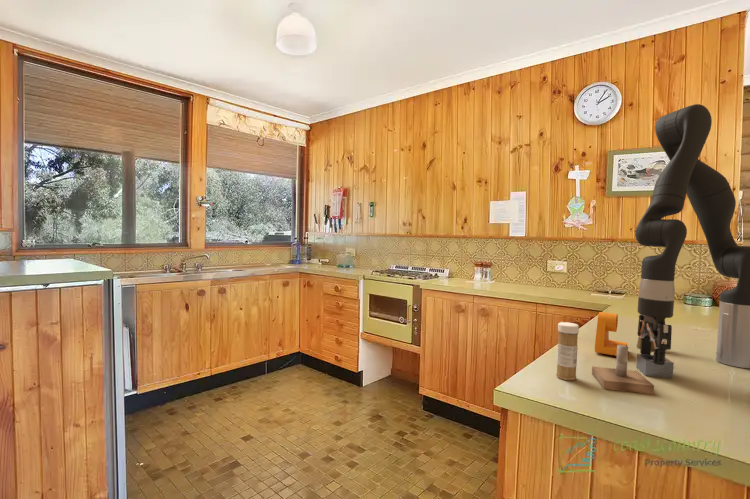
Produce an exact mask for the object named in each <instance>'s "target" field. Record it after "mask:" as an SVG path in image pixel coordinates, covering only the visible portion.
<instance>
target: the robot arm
mask: <svg viewBox="0 0 750 499" xmlns="http://www.w3.org/2000/svg"><path fill="white" fill-rule="evenodd" d="M712 123H713V120H712V115H711V112H710V110H709V109H708V108H707V107H706V106H705V105H702V104H699V103H694V104H692V105H687V106H685V107H683V108H680V109H677V110H675V111H673V112H670V113H667V114H664V115H663V116H660V117H658V119H657V120H656V121H655V126H654V129H655V135H656V138H657V140H658V142H659V144H660V146H661V148H662V150H663V151H664V153H665V155H666V156H667V158H668V159H669V163H668V164H667V165H666V166H665V167H663V168H664V169H662V171H661V172H660V174H659V175H658V177H657V179H656V181H655V184H654V188H653V191H652V192H653V193H652V195H651V198H650V199H651V200H650V203H649V205H648V207H647V209H646V211H645V212H644V214H643V216H641V219H640V221H638V224H637V226H636V229H635V235H634V236H635V240H636V241H637V243H638V244H639V245H641V246H642V247H654V248H655V247H656V248H657V247H658V248H664V250H663V251H662V252H661V253H660V254H657V255H648V256H645V257H643V259H642V261H641V273H640V281H639V286H638V296H637V297H638V298H637V299H638V300H637V313H638V314H639V315H638V324H637V336H638V337H639V336H640V340H641V349H639V350H640V351H639V352H640V353H639V354H648V355H652V354H651V353H652V351H651V341H653V344H654V351H653V355H654V357H653V362H654V363H655V364H657V365H664V364H665V358H666V351H668V350H671V349H672V334H673V333H672V332H673V330H672V328H673V327H672V324H666V319H667V318H668V319H670V318H673V316H674V307H675V294H676V293H675V292H676V288H675V274H676V265H677V261H678V258H679V255H680V252H681V249H683V245H684V243H685V241H686V238H687V234H688V229H687V226H686V225H685V223H684V222H683V221H682V220H680V219H676V218H675V219H673V218H672V219H669V218H667V219H665V218H666V217H668V216H669V217H670V216H673V215H678V214H679V213H681V212H682V211H683V209H684V206H685V203H686V202H685V201H686V197H687V198H688V200H689V203H690V205H691V207H692V210H693V212H694V214H695V216H696V217H697V220H698V222H699V225H700V228H701V230H702V232H703V234H704V237H705V239H706V243H707V246H708V249H709V253H710V256H711V261H712V263H713V265H714V267H715V269H716V271H717V272H718V273H719V274H721V275H722V276H723V277H727V278H731V279H737V283H736V285H735V286H734V287H732V288H729V289H726V290H722V291H721V292H720V294H719V305H718V306H719V309H718V322H717V323H718V324H717V343H716V352H715V354H716V358H715V359H716V361H717V362H719V363H721V364H724V365H728V366H731V367H735V368H736V367H737V368H742V369H743V368H744V369H750V246H749V245H738V244H737V243H736V241H735V239H734V237H733V234H732V231H731V223H732V219H733V217H734V214H735V210H736V206H737V205H736V204H737V201H736V197H735V194H734V192H733V190H732V188H731V185H730V183H729V181H728V179H727V178H726V177H725V176H724V175H723V174H722V173H721V172H719V171H718V170H716V169H715V168H714V167H711V166H710V165H708V164H706V163H705V162H704V161H702V160H700V159H699V158H700V155H701V153H702V151H703V148H704V146H705V144H706V142H707V139H708V137H709V135H710V132H711V130H712V129H711V128H712ZM663 218H664V219H663Z"/></svg>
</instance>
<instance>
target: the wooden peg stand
mask: <svg viewBox="0 0 750 499" xmlns="http://www.w3.org/2000/svg"><path fill="white" fill-rule="evenodd" d="M628 352H629V346H628V345H627V346H624V345H617V356H616V361H615V363H616V364H615V367H614V368H612V367H603V366H602V367H601V366H593V365H592V366H591V375H592V376H593V378H594V379H595V380H596V382H598V384H599V385H600V386H601V387H602V389H604V390H611V391H612V390H613V391H620V392H629V393H637V394H640V393H641V394H647V395H655V389H654V388H655V385H654V384H653V383H652V382H650V381H649V380H648V379H647V378H646V376H645V375H644V376H643V374H642V373H641V372H640V371H639V370H633V369H628V358H629V357H628V356H629V353H628Z"/></svg>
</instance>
